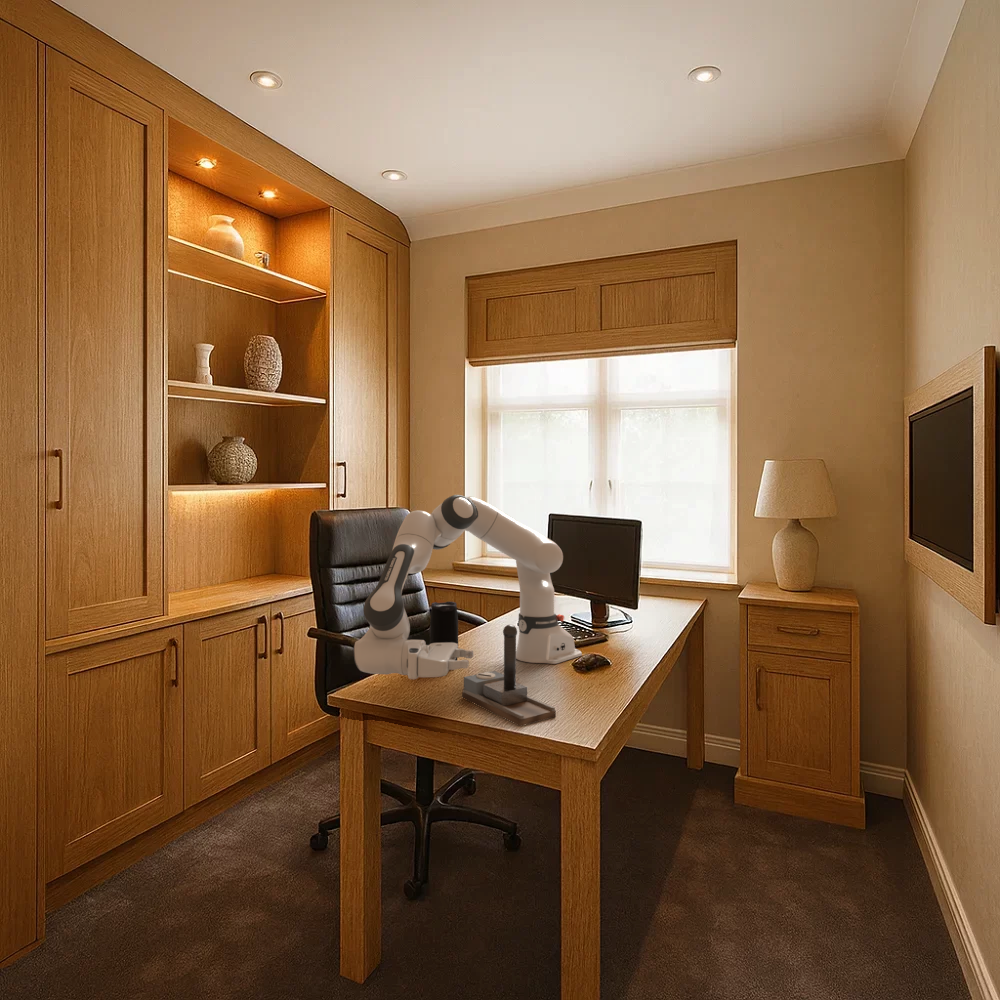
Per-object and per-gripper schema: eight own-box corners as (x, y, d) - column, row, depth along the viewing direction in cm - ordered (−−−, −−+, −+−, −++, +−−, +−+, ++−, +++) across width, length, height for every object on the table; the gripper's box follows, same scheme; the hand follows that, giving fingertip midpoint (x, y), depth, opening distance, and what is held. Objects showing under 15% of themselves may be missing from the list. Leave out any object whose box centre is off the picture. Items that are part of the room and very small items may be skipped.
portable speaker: (453, 661, 218) (454, 600, 218) (461, 669, 210) (461, 605, 209) (426, 663, 216) (427, 601, 215) (433, 672, 207) (433, 606, 206)
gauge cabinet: (494, 685, 189) (494, 668, 189) (507, 690, 185) (507, 673, 184) (463, 691, 184) (463, 674, 183) (476, 697, 179) (476, 680, 179)
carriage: (508, 692, 183) (508, 618, 182) (527, 700, 176) (527, 624, 176) (483, 698, 178) (483, 622, 177) (501, 706, 172) (502, 628, 171)
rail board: (496, 690, 190) (496, 682, 190) (555, 716, 170) (555, 707, 170) (462, 697, 183) (462, 689, 183) (520, 726, 163) (520, 716, 163)
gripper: (424, 659, 187) (475, 660, 186) (408, 681, 167) (465, 683, 166) (424, 636, 187) (475, 637, 186) (408, 655, 167) (465, 656, 165)
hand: (470, 659), depth 176 cm, fingers open, 8 cm apart
